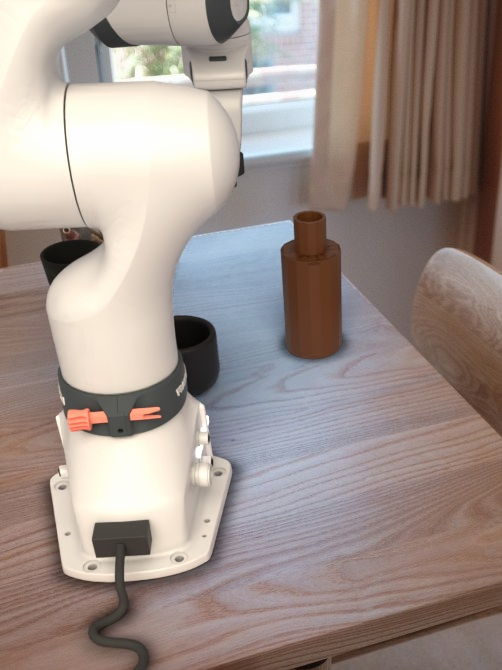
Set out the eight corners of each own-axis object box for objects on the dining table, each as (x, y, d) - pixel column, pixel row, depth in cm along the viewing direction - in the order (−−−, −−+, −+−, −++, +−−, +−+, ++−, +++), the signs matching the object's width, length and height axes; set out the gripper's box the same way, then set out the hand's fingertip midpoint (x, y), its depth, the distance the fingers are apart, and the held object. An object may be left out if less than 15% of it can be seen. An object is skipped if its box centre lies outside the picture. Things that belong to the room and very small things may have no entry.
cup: (128, 342, 118) (113, 254, 111) (73, 359, 115) (53, 270, 107) (105, 319, 123) (88, 234, 116) (51, 335, 120) (30, 248, 112)
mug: (202, 358, 115) (195, 307, 110) (234, 390, 109) (229, 337, 104) (112, 386, 110) (101, 333, 106) (141, 421, 104) (131, 367, 100)
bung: (246, 191, 123) (244, 159, 120) (212, 192, 123) (209, 161, 120) (244, 179, 127) (242, 148, 124) (211, 181, 126) (208, 150, 124)
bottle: (345, 356, 115) (344, 226, 104) (288, 360, 114) (281, 230, 103) (337, 329, 120) (336, 203, 110) (283, 333, 120) (276, 206, 109)
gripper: (192, 40, 122) (203, 146, 131) (192, 79, 106) (205, 196, 115) (238, 38, 123) (246, 143, 131) (246, 76, 107) (254, 193, 116)
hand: (227, 168), depth 123 cm, fingers closed on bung, 4 cm apart
